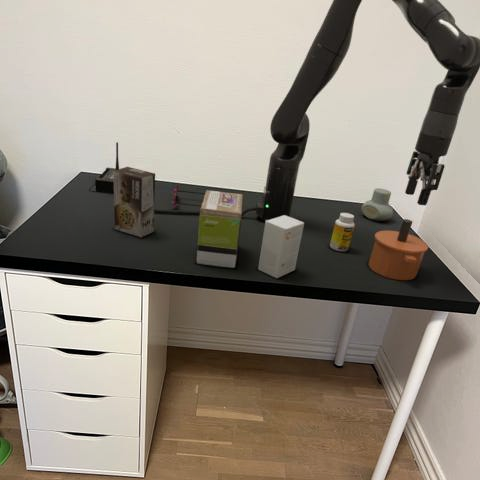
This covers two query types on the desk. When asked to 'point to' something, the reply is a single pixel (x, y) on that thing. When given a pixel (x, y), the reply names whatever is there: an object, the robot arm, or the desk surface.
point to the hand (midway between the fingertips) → (415, 199)
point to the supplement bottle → (342, 232)
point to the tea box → (219, 229)
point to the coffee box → (134, 201)
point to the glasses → (178, 197)
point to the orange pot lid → (402, 239)
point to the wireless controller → (107, 178)
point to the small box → (280, 245)
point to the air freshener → (378, 206)
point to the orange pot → (394, 262)
